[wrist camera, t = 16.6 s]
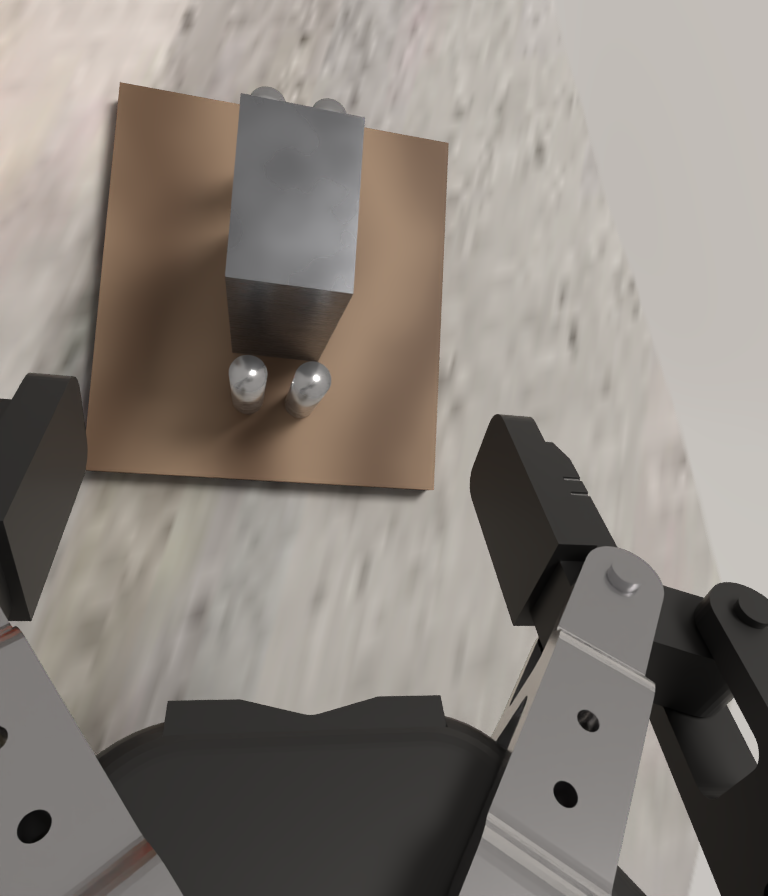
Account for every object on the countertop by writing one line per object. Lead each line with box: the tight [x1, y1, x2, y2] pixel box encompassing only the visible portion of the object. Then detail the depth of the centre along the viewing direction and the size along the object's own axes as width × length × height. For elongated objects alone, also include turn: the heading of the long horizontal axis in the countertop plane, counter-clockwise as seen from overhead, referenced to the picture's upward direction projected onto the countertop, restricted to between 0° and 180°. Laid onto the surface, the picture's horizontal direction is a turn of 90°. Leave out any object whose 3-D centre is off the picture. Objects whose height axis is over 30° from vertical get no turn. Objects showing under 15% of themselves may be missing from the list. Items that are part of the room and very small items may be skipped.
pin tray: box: [86, 82, 448, 490], centre depth 27 cm, size 16×18×7 cm
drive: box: [225, 93, 365, 362], centre depth 24 cm, size 4×6×10 cm, turn 177°
